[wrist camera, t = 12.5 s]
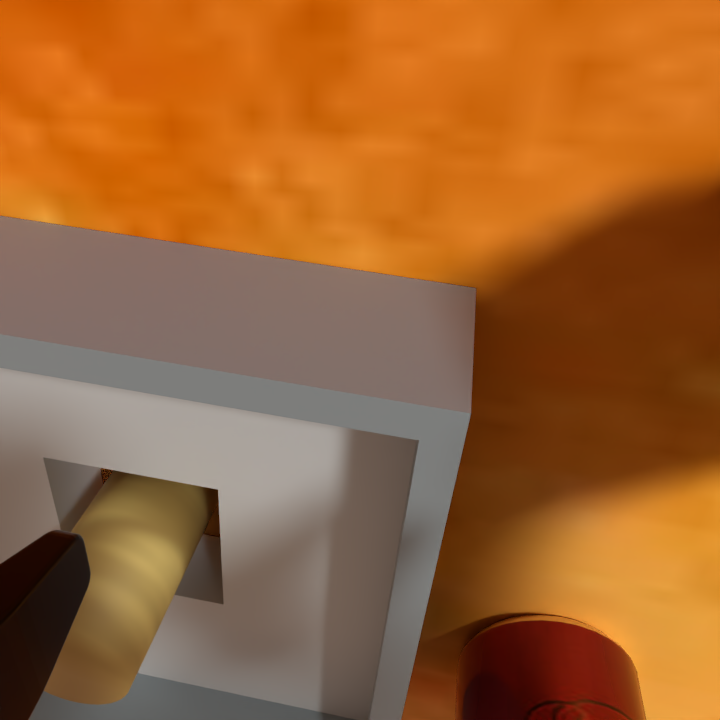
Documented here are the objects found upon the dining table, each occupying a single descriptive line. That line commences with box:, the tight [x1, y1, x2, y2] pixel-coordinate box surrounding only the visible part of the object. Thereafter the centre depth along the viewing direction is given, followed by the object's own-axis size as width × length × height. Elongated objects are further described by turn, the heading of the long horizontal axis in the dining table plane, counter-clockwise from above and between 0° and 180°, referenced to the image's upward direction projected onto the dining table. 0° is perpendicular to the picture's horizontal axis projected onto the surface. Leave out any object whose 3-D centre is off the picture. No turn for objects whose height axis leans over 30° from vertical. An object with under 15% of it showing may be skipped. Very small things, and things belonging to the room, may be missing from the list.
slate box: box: [0, 216, 476, 720], centre depth 23 cm, size 20×20×6 cm
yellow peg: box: [44, 470, 219, 705], centre depth 23 cm, size 4×4×8 cm
